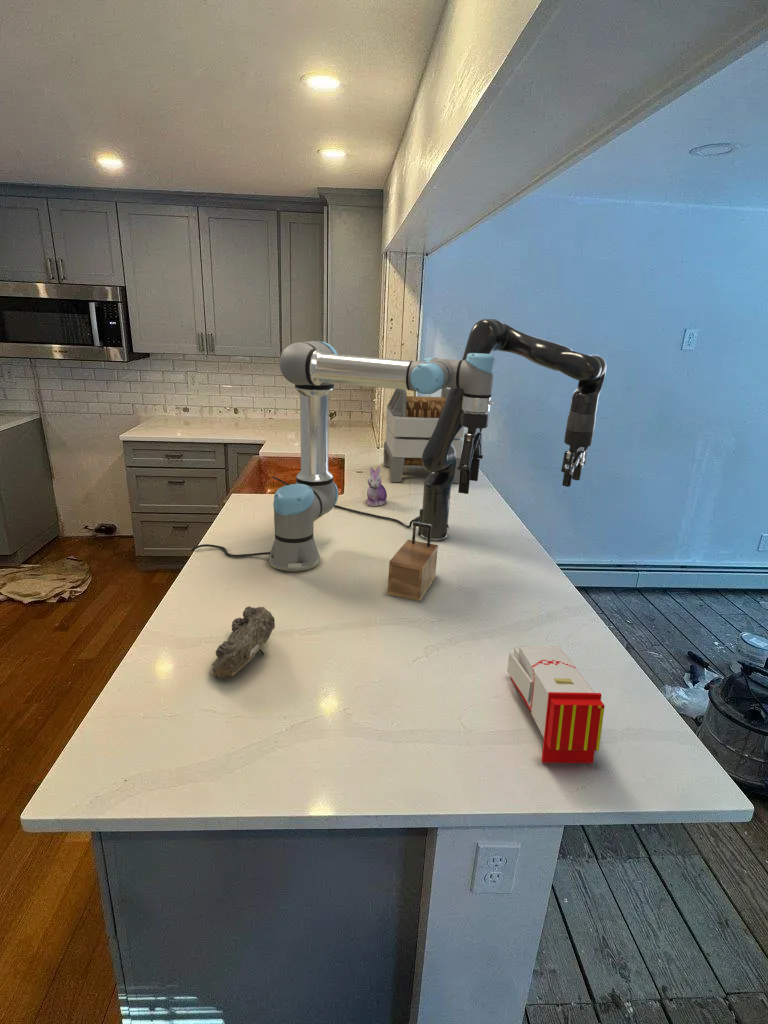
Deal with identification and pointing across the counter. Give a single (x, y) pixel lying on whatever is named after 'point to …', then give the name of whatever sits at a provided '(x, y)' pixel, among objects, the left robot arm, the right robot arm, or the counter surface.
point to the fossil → (243, 641)
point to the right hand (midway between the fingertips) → (571, 482)
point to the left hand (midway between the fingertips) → (468, 486)
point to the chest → (411, 580)
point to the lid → (415, 551)
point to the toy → (558, 703)
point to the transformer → (413, 431)
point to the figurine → (375, 489)
